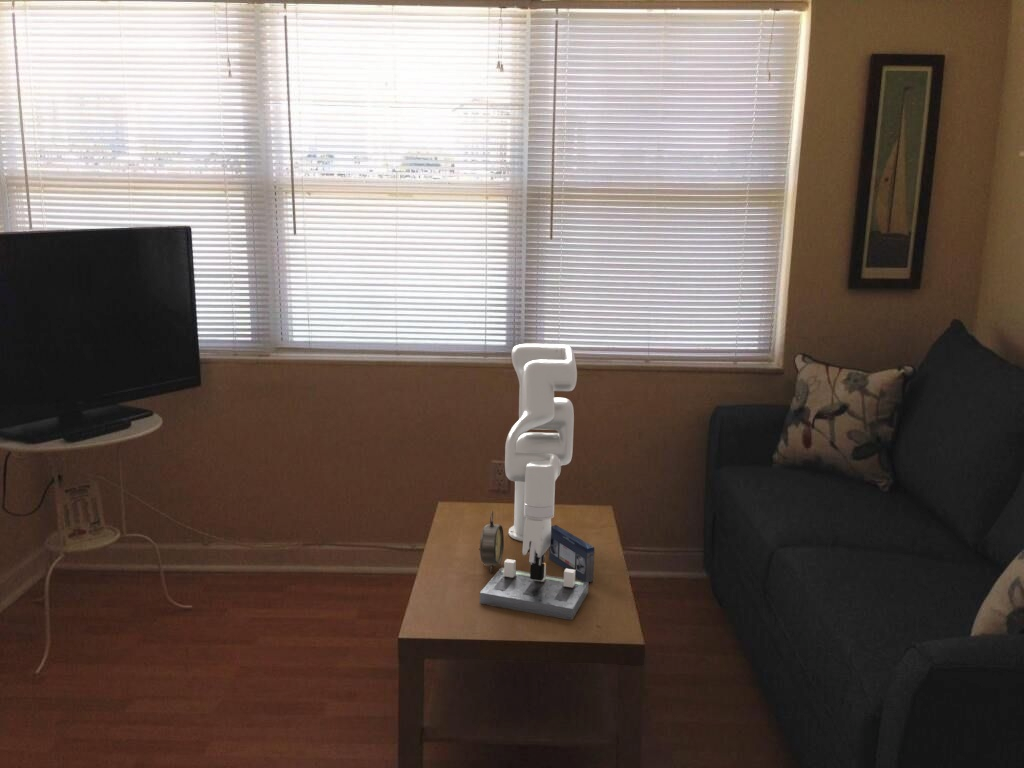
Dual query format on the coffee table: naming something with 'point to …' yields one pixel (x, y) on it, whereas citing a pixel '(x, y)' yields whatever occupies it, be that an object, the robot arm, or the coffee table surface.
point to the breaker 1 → (509, 568)
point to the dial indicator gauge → (491, 544)
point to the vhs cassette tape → (572, 553)
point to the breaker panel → (534, 594)
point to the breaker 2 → (569, 578)
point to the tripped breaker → (544, 573)
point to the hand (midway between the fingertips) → (536, 578)
